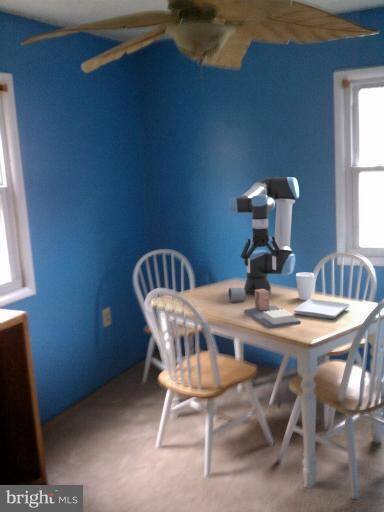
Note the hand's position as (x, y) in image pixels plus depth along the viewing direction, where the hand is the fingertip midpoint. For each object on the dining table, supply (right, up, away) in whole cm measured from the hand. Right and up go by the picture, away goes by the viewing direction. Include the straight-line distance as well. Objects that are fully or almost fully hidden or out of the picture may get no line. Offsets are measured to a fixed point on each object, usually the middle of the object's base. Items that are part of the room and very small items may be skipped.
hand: (261, 270), depth 258 cm
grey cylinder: (-10, -17, +25) cm, 32 cm away
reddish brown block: (+1, -19, +3) cm, 19 cm away
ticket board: (+4, -22, -6) cm, 23 cm away
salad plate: (+29, -20, -2) cm, 35 cm away
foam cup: (+26, -15, +23) cm, 38 cm away
